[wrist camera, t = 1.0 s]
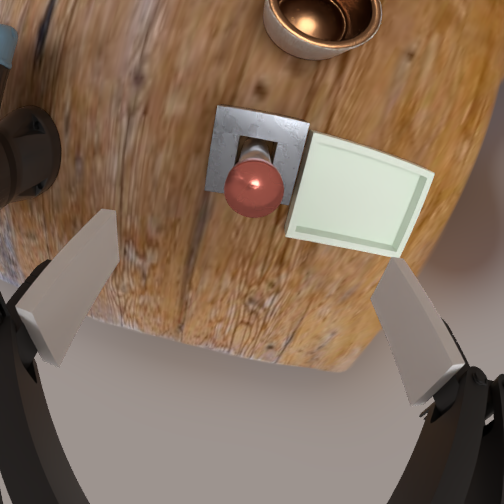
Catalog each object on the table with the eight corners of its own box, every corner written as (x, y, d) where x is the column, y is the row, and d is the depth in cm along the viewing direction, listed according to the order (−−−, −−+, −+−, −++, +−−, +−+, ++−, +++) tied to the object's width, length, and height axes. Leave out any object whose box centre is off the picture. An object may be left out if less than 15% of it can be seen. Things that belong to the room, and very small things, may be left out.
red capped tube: (234, 162, 34) (220, 212, 21) (240, 129, 32) (229, 157, 19) (269, 169, 35) (276, 222, 22) (276, 136, 32) (290, 168, 20)
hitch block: (209, 179, 36) (204, 190, 32) (221, 104, 30) (217, 105, 27) (285, 193, 36) (288, 205, 33) (303, 119, 31) (309, 123, 28)
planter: (338, 73, 28) (367, 69, 20) (251, 45, 26) (249, 28, 18) (361, 6, 22) (393, -15, 14) (277, -24, 21) (283, -57, 12)
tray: (284, 227, 39) (285, 236, 37) (309, 129, 32) (313, 132, 30) (392, 249, 41) (398, 258, 39) (425, 168, 33) (434, 173, 31)
